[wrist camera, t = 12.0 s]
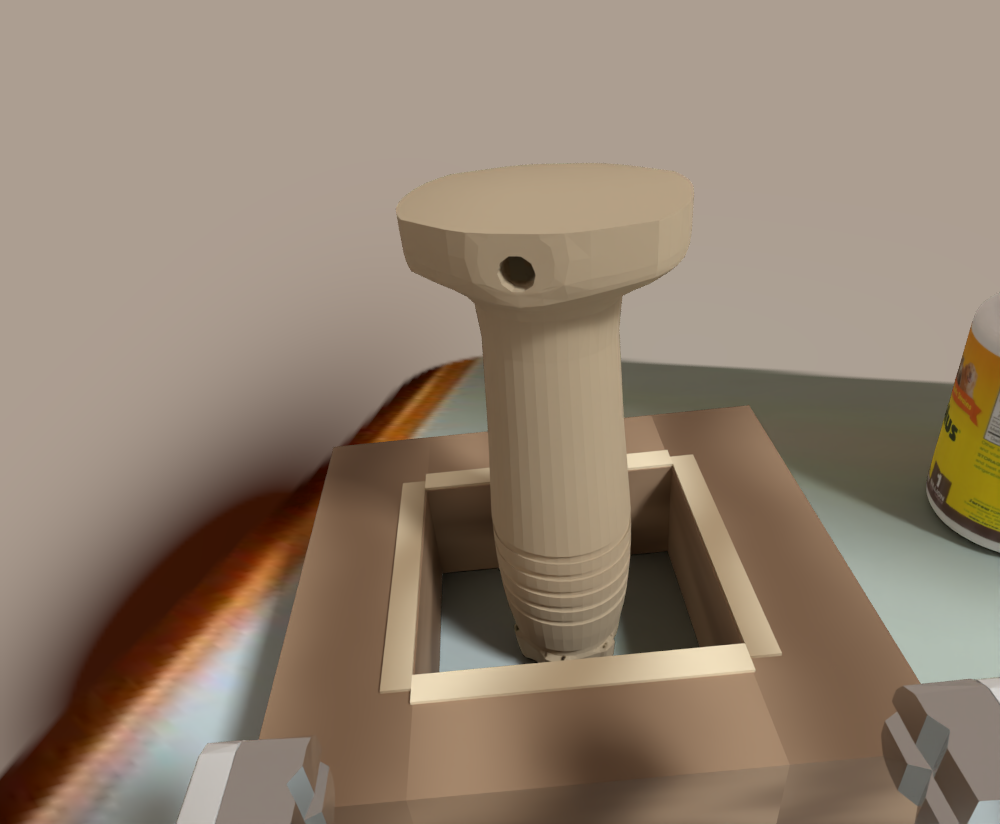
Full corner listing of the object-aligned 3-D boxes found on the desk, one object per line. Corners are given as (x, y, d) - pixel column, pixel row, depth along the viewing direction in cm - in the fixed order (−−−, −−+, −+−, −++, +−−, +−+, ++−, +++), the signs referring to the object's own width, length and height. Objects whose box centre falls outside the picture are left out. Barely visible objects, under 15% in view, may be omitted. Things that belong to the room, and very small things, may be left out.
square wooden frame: (739, 486, 30) (749, 403, 27) (919, 841, 18) (961, 746, 16) (354, 524, 30) (332, 445, 28) (285, 898, 18) (237, 813, 16)
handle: (496, 577, 27) (441, 165, 18) (674, 604, 25) (700, 160, 17) (454, 689, 23) (361, 232, 15) (660, 729, 21) (685, 235, 13)
